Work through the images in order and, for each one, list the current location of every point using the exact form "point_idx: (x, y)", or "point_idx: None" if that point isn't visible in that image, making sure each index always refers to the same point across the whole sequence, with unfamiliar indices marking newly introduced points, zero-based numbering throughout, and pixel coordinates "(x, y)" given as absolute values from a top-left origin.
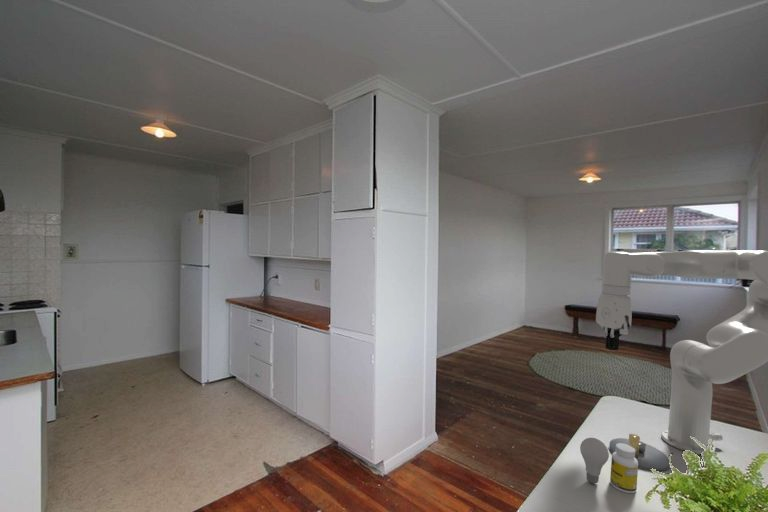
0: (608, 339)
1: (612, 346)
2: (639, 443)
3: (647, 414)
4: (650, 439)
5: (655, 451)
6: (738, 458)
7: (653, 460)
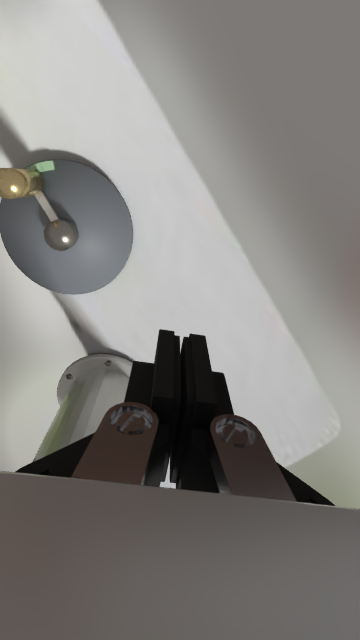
0: (171, 378)
1: (142, 362)
2: (57, 235)
3: None
4: (135, 333)
5: (64, 278)
6: None
7: (25, 232)
